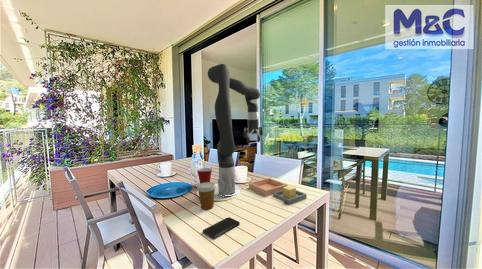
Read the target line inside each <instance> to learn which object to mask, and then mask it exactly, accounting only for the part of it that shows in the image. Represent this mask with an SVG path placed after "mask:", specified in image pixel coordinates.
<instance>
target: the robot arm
mask: <svg viewBox="0 0 482 269" xmlns="http://www.w3.org/2000/svg"><path fill="white" fill-rule="evenodd" d="M207 77H208V80H210V82H212V83H214V84H217V85H218V92H217V96H216V99H215V101H214V115H215V116H214V118H215V120H216V124H217V128H218V130H219V141H218V142H217V144H216V152H217V162H218V177H219V178H217V189H218V190H217V191H218V192H217V194H218V195H219V194H220V195H222V196H225V195H232V194H234V193H235V194H236V178H235V161H234V158H233V157H234V156H233V154H234V153H235V150H236V145H235V140H234V139H235V138H234V135H233V122H232V121H233V120H232V109H231V108H232V106H231V95H230V89H231V90H233V91H235V92H236V93H238V94H241V95H242V96H244V99H245V103H246V106H247V127H244V128H243V138H246V143H247V144H250V142H251V138H250V137H251V136H252V135H256V142H257V143H260V142H261V136H263V127H262V126H259V125H260V122H259V119H260V117H259V106H258V104H257V103H255V102H254V100H258V99H260V97H261V91H260V90H259V89H258V88H256V87H253V86H251V85H248V84H246V83H245V82H243V81H241V80H239V79H235V78H232V77H230V70H229V68H228V66H227V64H225V63H220V64H217V65H213V66H211V67H210V68H208V70H207ZM220 195H219V196H220ZM222 196H221V197H222Z"/></svg>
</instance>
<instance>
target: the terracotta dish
mask: <svg viewBox="0 0 482 269" xmlns="http://www.w3.org/2000/svg"><path fill="white" fill-rule="evenodd" d="M286 186H289V185H288V184H287V183H286V182H285V183H284V182H282V181H279V180H276V179H274V178H271V177H267V178H263V179H258V180H255V181H251V182H248V187H249V189H251V190H253V191H255V192H256V193H259V194H261V195H263V196H265V197H267V196H271V195H272V196H273V193H276V192H279V191H282V190H283V187H286Z"/></svg>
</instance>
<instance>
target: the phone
mask: <svg viewBox="0 0 482 269" xmlns="http://www.w3.org/2000/svg"><path fill="white" fill-rule="evenodd" d="M238 226H240V221H238V220H236V219H234V218H232V217H230V216H229V217H226V218H223V219H222V220H219V221H218V222H215V223H213V224H212V225H210V226H208V227H205V228H204V229H203V230H202V234H204V236H207V237H208V238H210V239H211V240H216V239H218V238H220V237H221V236H223V235H225V234H226V233H229V232H230V231H231V230H233V229H235V228H237V227H238Z"/></svg>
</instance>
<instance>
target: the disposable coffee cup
mask: <svg viewBox="0 0 482 269" xmlns="http://www.w3.org/2000/svg"><path fill="white" fill-rule="evenodd" d="M215 184H216V183H214V182H212V181H210V182H204V183H200V182H199V183H198V185H197V187H196V189H197V191H198V192H197V193H198V197H199V204H200V208H201V210H204V211H208V210H211V209H213V208H214V204H215V192H216V191H215V190H216V187H217V186H216V185H215Z"/></svg>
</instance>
